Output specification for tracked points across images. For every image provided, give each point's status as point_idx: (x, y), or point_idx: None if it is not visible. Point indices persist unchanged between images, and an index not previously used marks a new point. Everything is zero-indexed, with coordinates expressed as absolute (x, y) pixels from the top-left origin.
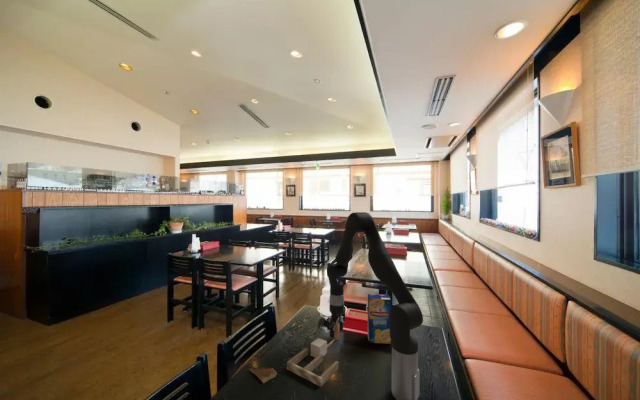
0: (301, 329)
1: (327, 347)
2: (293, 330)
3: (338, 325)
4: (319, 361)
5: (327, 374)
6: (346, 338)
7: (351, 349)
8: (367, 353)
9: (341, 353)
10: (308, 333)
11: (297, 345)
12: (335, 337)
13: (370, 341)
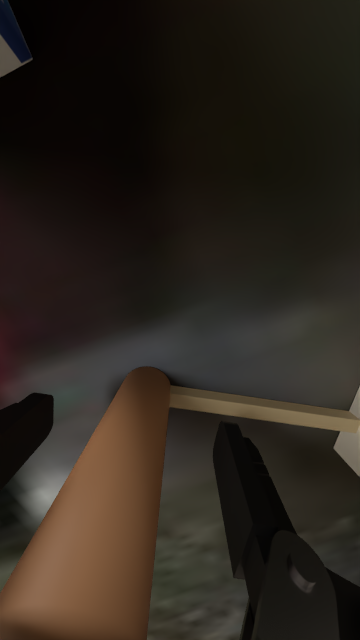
0: (152, 598)
1: (293, 404)
2: (184, 621)
3: (102, 566)
4: None
5: None
6: (94, 319)
7: (244, 213)
8: (252, 4)
9: (335, 278)
10: (174, 556)
11: (327, 554)
12: (169, 404)
13: (10, 18)
